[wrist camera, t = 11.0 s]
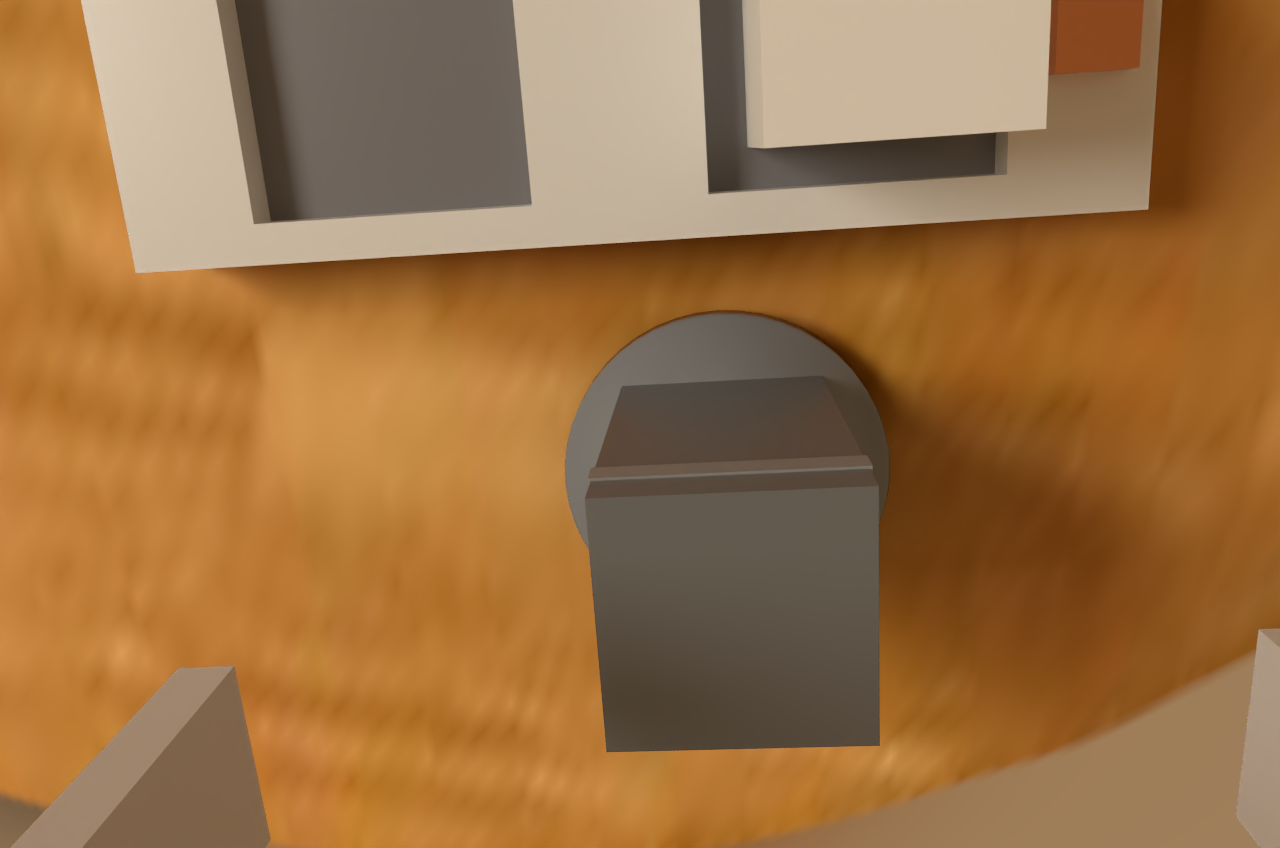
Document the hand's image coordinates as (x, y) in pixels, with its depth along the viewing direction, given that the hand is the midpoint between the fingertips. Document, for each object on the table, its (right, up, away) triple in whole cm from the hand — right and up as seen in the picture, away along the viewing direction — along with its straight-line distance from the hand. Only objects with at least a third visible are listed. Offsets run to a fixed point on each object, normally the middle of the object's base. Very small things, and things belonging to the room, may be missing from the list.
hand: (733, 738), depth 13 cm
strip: (-2, +13, +10) cm, 16 cm away
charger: (+1, +3, +12) cm, 12 cm away
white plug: (+3, +12, +8) cm, 15 cm away
